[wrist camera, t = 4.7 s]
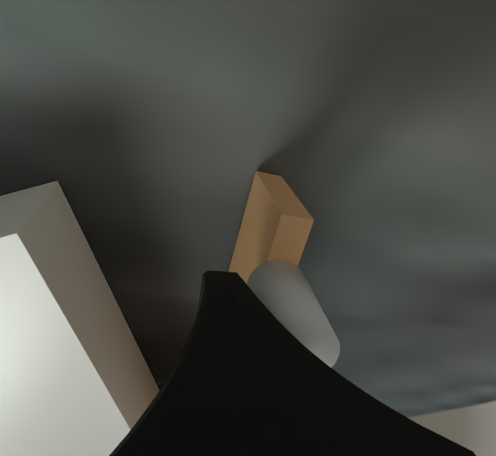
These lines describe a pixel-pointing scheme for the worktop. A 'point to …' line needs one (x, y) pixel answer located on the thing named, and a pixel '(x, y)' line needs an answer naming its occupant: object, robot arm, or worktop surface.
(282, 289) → the side door
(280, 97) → the worktop surface
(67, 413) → the pale upright slab
